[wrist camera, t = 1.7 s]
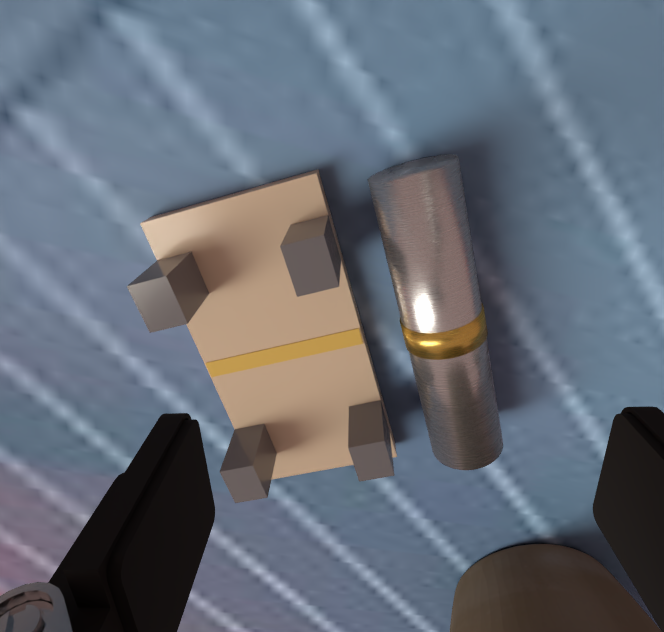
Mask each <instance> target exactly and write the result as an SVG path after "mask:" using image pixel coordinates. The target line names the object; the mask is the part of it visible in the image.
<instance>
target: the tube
mask: <svg viewBox="0 0 664 632" xmlns="http://www.w3.org/2000/svg"><path fill="white" fill-rule="evenodd" d="M368 184H369V188H370V192H371V196H372V200H373V204H374V209H375V213H376V217H377V221H378V225H379V229H380V234H381V238H382V242H383V246H384V250H385V254H386V259H387V263H388V267H389V271H390V275H391V279H392V284H393V288H394V292H395V296H396V300H397V305H398V309H399V313H400V324H401V328H402V332H403V336H404V340H405V344H406V348H407V350H408V351H409V355H410V359H411V363H412V367H413V371H414V375H415V380H416V384H417V388H418V392H419V396H420V400H421V405H422V409H423V413H424V417H425V421H426V425H427V430H428V434H429V438H430V442H431V446H432V450H433V453H434V455H435V457H436V458H437V459H438V460H439V461H440V462H441V463H442V464H444V465H446V466H448V467H450V468H454V469H459V470H473V469H478V468H482V467H485V466H487V465H489V464H491V463H492V462H493V461H495V460H496V459H497V458H498V457H499V455H500V454H501V452H502V449H503V439H502V433H501V426H500V420H499V414H498V407H497V401H496V394H495V388H494V381H493V375H492V369H491V362H490V356H489V349H488V343H487V334H488V333H487V326H486V319H485V313H484V306H483V304H482V302H481V298H480V292H479V285H478V279H477V272H476V266H475V260H474V253H473V247H472V240H471V234H470V228H469V221H468V215H467V208H466V202H465V195H464V189H463V183H462V176H461V170H460V163H459V157H458V156H457V155H453V154H447V155H438V156H432V157H426V158H422V159H417V160H413V161H410V162H406V163H402V164H399V165H396V166H393V167H390V168H388V169H385V170H383V171H380V172H378V173H376V174H374V175H372V176H371V177H370V178H369V179H368Z"/></svg>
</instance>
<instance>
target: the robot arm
mask: <svg viewBox="0 0 664 632" xmlns="http://www.w3.org/2000/svg"><path fill="white" fill-rule="evenodd" d="M593 514H594V518H595V521H596V523H597V525H598V526H599V528H600V530H601V531H602V533H603V534H604V536H605V538H606V539H607V541H608V543H609V544H610V546H611V548H612V549H613V551H614V553H615V554H616V556H617V558H618V559H619V561H620V563H621V564H622V566H623V568H624V569H625V571H626V573H627V574H628V576H629V578H630V579H631V581H632V583H633V584H634V586H635V588H636V589H637V591H638V593H639V594H640V596H641V598H642V599H643V601H644V603H645V604H646V606H647V608H648V609H649V611H650V613H651V614H652V616H653V618H654V619H655V621H656V623H657V624H658V626H659V628H660V629H661V631H662V632H664V413H663V412H662V411H661V410H660V409H658V408H657V407H626V408H624V409H623V410H622V412H621V414H617V415H616V416H615V417H614V420H613V424H612V428H611V432H610V436H609V440H608V445H607V449H606V453H605V457H604V461H603V465H602V470H601V474H600V478H599V482H598V486H597V491H596V495H595V499H594V503H593ZM214 518H215V505H214V500H213V495H212V490H211V485H210V479H209V474H208V469H207V464H206V459H205V453H204V448H203V443H202V438H201V433H200V427H199V423H198V421H197V420H191V417H190V415H189V414H187V413H179V414H162V415H161V416H160V418H159V419H158V421H157V422H156V424H155V426H154V427H153V429H152V430H151V432H150V433H149V435H148V437H147V438H146V440H145V441H144V443H143V444H142V446H141V448H140V449H139V451H138V452H137V454H136V456H135V457H134V459H133V460H132V462H131V463H130V465H129V467H128V468H127V470H126V471H125V473H122V474H120V475H119V476H118V477H117V478H116V479H115V480H114V482H113V484H112V485H111V487H110V488H109V490H108V491H107V493H106V494H105V496H104V497H103V499H102V501H101V502H100V504H99V505H98V507H97V508H96V510H95V511H94V513H93V514H92V516H91V518H90V519H89V521H88V522H87V524H86V525H85V527H84V528H83V530H82V531H81V533H80V535H79V536H78V538H77V539H76V541H75V542H74V544H73V545H72V547H71V548H70V550H69V552H68V553H67V555H66V556H65V558H64V559H63V561H62V562H61V564H60V565H59V567H58V569H57V570H56V572H55V573H54V575H53V576H52V578H51V579H50V581H49V582H48V583H43V582H36V583H30V584H25V585H22V586H20V587H17V588H15V589H12V590H10V591H8V592H6V593H5V594H3V595H1V596H0V632H177V630H178V627H179V624H180V621H181V618H182V615H183V612H184V609H185V606H186V603H187V600H188V597H189V594H190V591H191V588H192V585H193V582H194V579H195V576H196V573H197V571H198V568H199V565H200V562H201V559H202V556H203V553H204V550H205V547H206V544H207V541H208V538H209V535H210V532H211V529H212V526H213V523H214Z"/></svg>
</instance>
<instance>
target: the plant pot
mask: <svg viewBox="0 0 664 632" xmlns="http://www.w3.org/2000/svg"><path fill="white" fill-rule="evenodd" d="M450 632H662V631H661V630H660V629H659V628H658V626H657V625H656V624H655V623H654V622H653V621H652V619H651V618H650V617H649V616H648V615H647V614H646V612H645V611H644V610H643V609H642V608H641V607H640V606H639V604H638V603H637V602H636V601H635V600H634V599H633V597H632V596H631V595H630V594H629V593H628V592H627V591H626V590H625V589H624V587H623V586H622V585H621V584H620V583H619V582H618V581H617V580H616V579H615V578H614V576H613V575H612V574H611V573H610V572H609V571H608V570H607V569H606V568H605V567H604V566H603V565H602V564H601V563H599V562H598V561H597V560H596V559H594V558H593V557H591V556H589V555H587V554H585V553H583V552H581V551H578V550H575V549H573V548H569V547H565V546H560V545H552V544H530V545H522V546H515V547H511V548H508V549H504V550H500V551H498V552H495V553H493V554H490V555H489V556H487V557H485V558H483V559H481V560H480V561H478V562H477V563H475V564H474V565H473V566H471V567H470V568H469V569H468V570H467V571H466V572H465V573H464V575H463V576H462V577H461V579H460V581H459V583H458V585H457V587H456V591H455V596H454V602H453V608H452V616H451V625H450Z"/></svg>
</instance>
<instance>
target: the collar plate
mask: <svg viewBox="0 0 664 632" xmlns="http://www.w3.org/2000/svg"><path fill="white" fill-rule="evenodd" d="M140 224H141V226H142V228H143V231H144V233H145V235H146V237H147V239H148V241H149V244H150V246H151V248H152V250H153V252H154V255H155V257H156V259H157V261H156V262H155V263H154V264H153V265H151V266H150V267H149V268H148V269H147V270H146V271H144V272H143V273H142V274H141V275H140V276H139V277H137V278H136V279H135V280H134V281H133V282H131V283H130V284H129V285H128V286H127V288H128V290H129V292H130V294H131V296H132V298H133V300H134V302H135V304H136V306H137V308H138V310H139V312H140V314H141V316H142V318H143V320H144V322H145V324H146V326H147V328H148V330H149V332H150V333H151V332H155V331H159V330H164V329H168V328H172V327H176V326H180V325H184V324H187V326H188V329H189V331H190V333H191V335H192V337H193V339H194V342H195V344H196V346H197V348H198V350H199V352H200V355H201V357H202V359H203V361H204V363H205V365H206V368H207V370H208V372H209V374H210V376H211V379H212V381H213V383H214V385H215V387H216V389H217V392H218V394H219V396H220V398H221V400H222V402H223V405H224V407H225V409H226V411H227V413H228V416H229V418H230V420H231V422H232V424H233V426H234V429H235V430H234V433H233V436H232V439H231V442H230V444H229V447H228V450H227V453H226V456H225V458H224V461H223V464H222V467H221V470H220V473H221V475H222V477H223V479H224V481H225V483H226V485H227V487H228V489H229V491H230V493H231V495H232V497H233V499H234V501H235V503H239V502H244V501H250V500H256V499H262V498H267V497H268V493H269V488H270V483H271V479H276V478H282V477H287V476H293V475H298V474H304V473H309V472H315V471H321V470H326V469H332V468H337V467H343V466H348V465H354V467H355V470H356V473H357V476H358V479H359V481H365V480H371V479H376V478H382V477H388V476H394V467H393V457H397V454H396V445H395V441H394V437H393V434H392V430H391V426H390V423H389V419H388V416H387V412H386V409H385V405H384V401H383V398H382V394H381V391H380V387H379V384H378V380H377V377H376V373H375V369H374V366H373V362H372V359H371V355H370V352H369V348H368V345H367V341H366V337H365V334H364V330H363V327H362V323H361V320H360V316H359V313H358V309H357V305H356V302H355V298H354V295H353V291H352V288H351V284H350V280H349V277H348V273H347V270H346V266H345V263H344V259H343V256H342V252H341V248H340V245H339V241H338V238H337V234H336V231H335V227H334V224H333V220H332V216H331V213H330V209H329V206H328V202H327V199H326V195H325V191H324V188H323V184H322V181H321V177H320V174H319V170H314V171H311V172H307V173H304V174H300V175H297V176H293V177H290V178H286V179H283V180H279V181H276V182H272V183H269V184H265V185H262V186H258V187H255V188H251V189H248V190H244V191H241V192H237V193H234V194H230V195H227V196H223V197H220V198H216V199H213V200H209V201H206V202H202V203H199V204H195V205H192V206H188V207H185V208H181V209H178V210H174V211H171V212H167V213H164V214H160V215H157V216H153V217H150V218H148V219H147V220H145V221H143V222H142V223H140Z"/></svg>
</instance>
